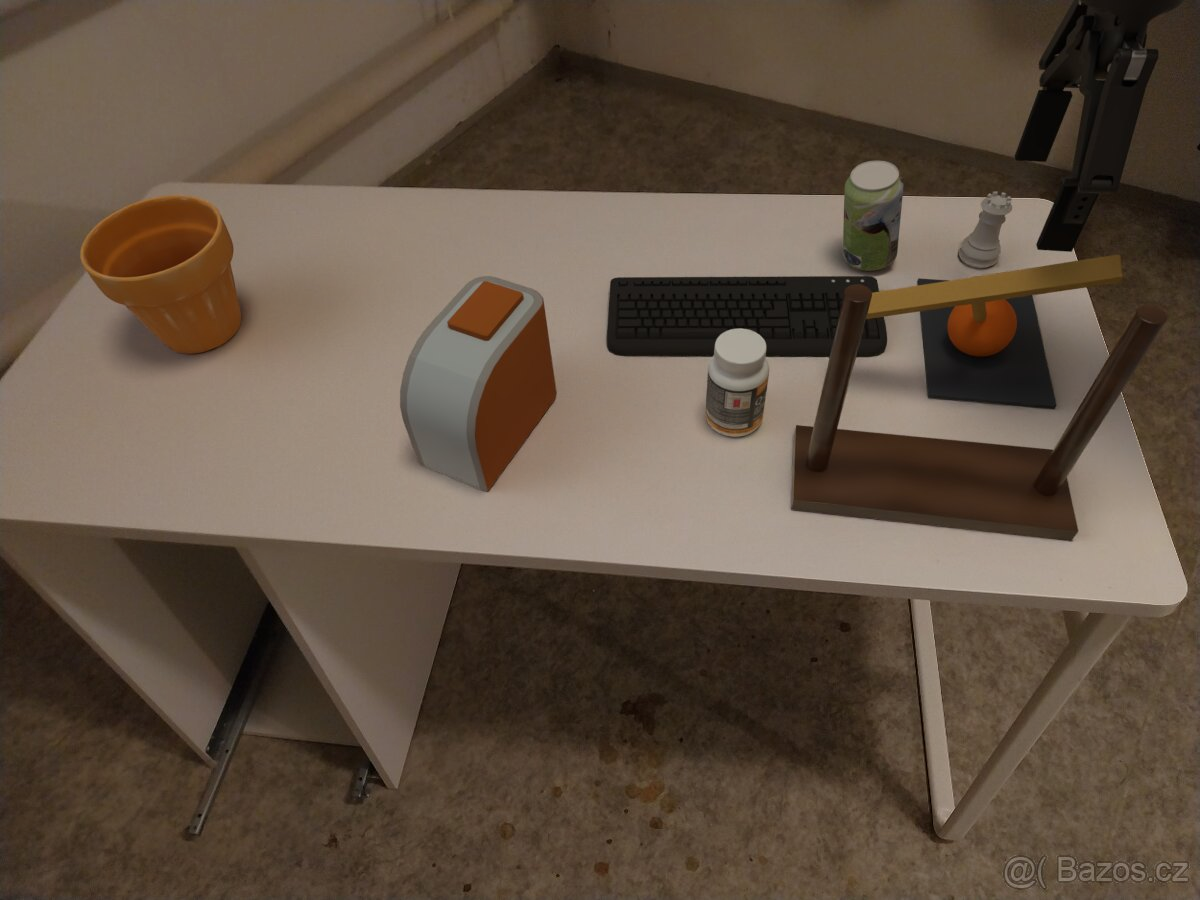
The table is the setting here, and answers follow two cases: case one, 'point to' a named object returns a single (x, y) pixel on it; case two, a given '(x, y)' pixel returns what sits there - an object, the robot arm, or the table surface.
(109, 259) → the flower pot
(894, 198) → the beverage can
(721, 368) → the pill bottle
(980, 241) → the rook chess piece
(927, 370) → the slate mat
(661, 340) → the keyboard
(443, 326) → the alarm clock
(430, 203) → the table surface
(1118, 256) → the ball on t-bar
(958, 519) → the hanger rack
